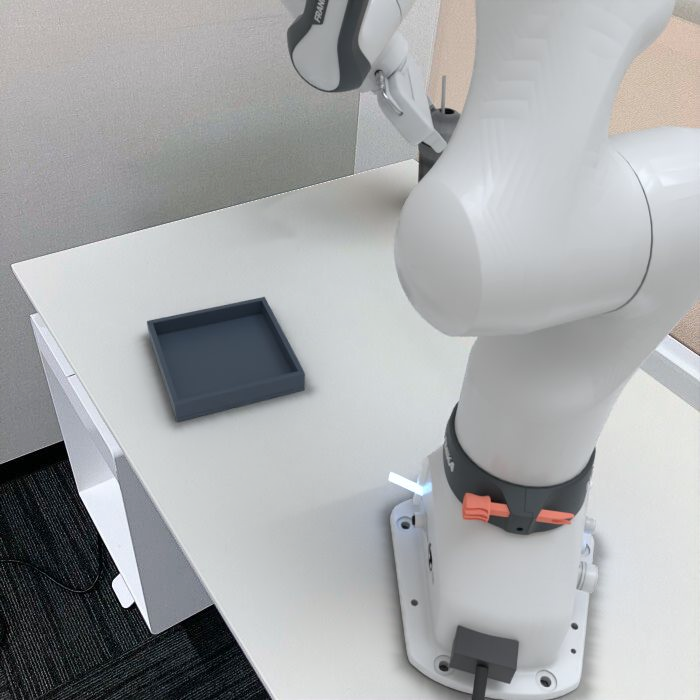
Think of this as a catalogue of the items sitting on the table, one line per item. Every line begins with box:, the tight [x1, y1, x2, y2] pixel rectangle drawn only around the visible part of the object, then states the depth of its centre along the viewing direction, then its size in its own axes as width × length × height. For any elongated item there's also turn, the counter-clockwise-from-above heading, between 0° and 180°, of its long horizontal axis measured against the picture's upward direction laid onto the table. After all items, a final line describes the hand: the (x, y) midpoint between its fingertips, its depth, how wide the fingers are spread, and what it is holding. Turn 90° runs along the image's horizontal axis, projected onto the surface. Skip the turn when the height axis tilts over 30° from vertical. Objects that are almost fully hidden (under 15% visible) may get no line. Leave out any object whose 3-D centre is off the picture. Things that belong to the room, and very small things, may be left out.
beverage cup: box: [417, 75, 461, 184], centre depth 105 cm, size 7×7×20 cm
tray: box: [146, 296, 306, 423], centre depth 83 cm, size 14×14×3 cm
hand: (439, 132), depth 104 cm, fingers open, 8 cm apart
